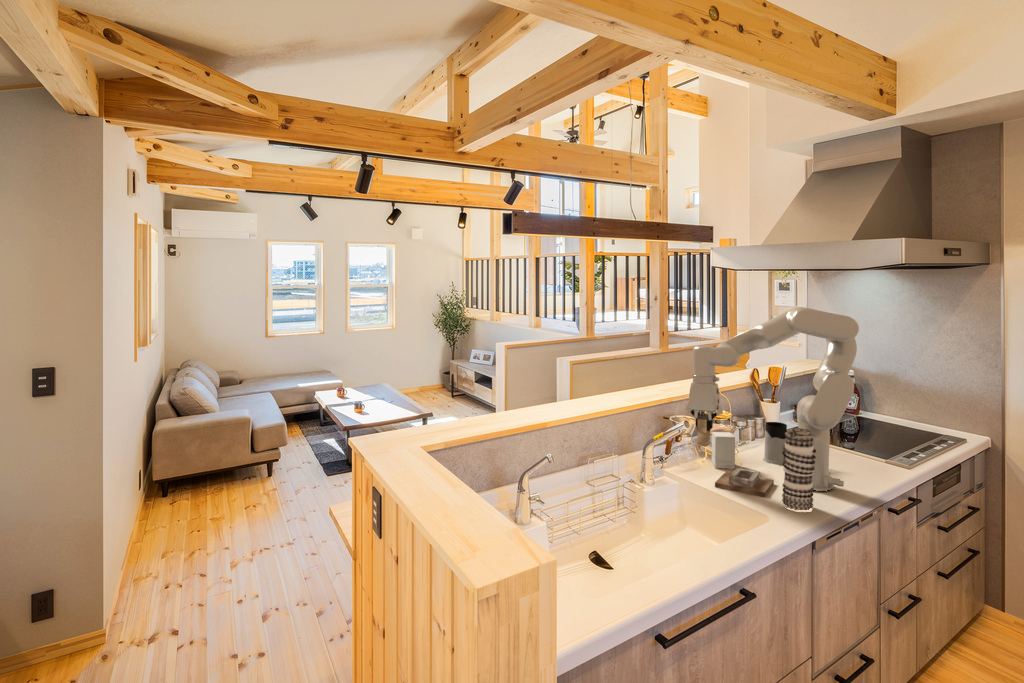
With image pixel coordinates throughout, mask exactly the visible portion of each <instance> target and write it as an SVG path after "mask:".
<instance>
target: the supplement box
mask: <svg viewBox="0 0 1024 683" xmlns="http://www.w3.org/2000/svg"><path fill="white" fill-rule="evenodd" d="M735 455H736V437H735V435H734V434H733V433H732V432H725V431H724V432H723V431H712V432H711V464H712V466H713V467H714V468H715V469H725V468H727V470H730V469H731V470H734V469H735V468H736V467H735V464H736V463H735V462H736V461H735V460H736V459H735V458H736V456H735Z"/></svg>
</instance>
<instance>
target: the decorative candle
mask: <svg viewBox="0 0 1024 683" xmlns="http://www.w3.org/2000/svg"><path fill="white" fill-rule="evenodd" d="M785 434H786V442H785V445H784V446H782V450H783V452H782V454H783V456H784V457H783V461H784V462H783V464H782V466H783V468H782V470H783V472H784V477H783V483H782V495H781V496H782V497H781V498H782V499H781V501H782V505H783V506H784V507H786V508H790V509H794V510H809V509H810V508H813V507H814V498H813V496H814V491H813V490H814V489H813V487H812V485H813V483H812V475H813V474H814V471H813V470H814V469H815V468H814V467H813V466H812V465H813V464H815V461H814V460H812V459H815V458H816V457H815V456H814V455H812V452H813V453H815V452H816V450H815V449H814V446H813V437H815V436H814V435H813V434H812V433H811V432H810V431H809V430H807V429H803V428H798V427H792V428H788V429H787V432H785ZM785 448H786V449H785ZM785 452H786V454H785ZM785 459H786V460H785ZM783 506H782V507H783ZM784 507H783V508H784Z"/></svg>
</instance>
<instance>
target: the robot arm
mask: <svg viewBox="0 0 1024 683" xmlns="http://www.w3.org/2000/svg"><path fill="white" fill-rule="evenodd" d="M859 330H860V327H859V324H858V321H856V319H854V318H853V317H851V316H848V315H844V314H839V313H832V312H827V311H822V310H818V309H814V308H810V307H804V306H797V307H794V308H790V309H789V310H787V311H784V312H782V313H781V314H779V315H777V316H775V317H773V318H771V319H769V320H767V321H764V322H763V323H761V324H759V325H756V326H755V327H752V328H750V329H748V330H746V331H743V332H741V333H739V334H737V335H734V336H732V337H731V338H729V339H727V340H725V341H724V340H723V342H721V343H719V344H718V345H717V346H715V347H714V346H712V345H707V344H706V345H705V344H704V345H696V346H693V349H692V382H691V383H690V388H689V393H688V403H687V405H686V407H685V411H687V412H688V413H690V414H691V415H692V416H693V418H694V419H695V427H696V431H698V415H700V414H701V412H707V414H708V420H707V431H710V432H711V430H712V429H713V426H714V423H713V422H714V421H713V420H714V419H715V418H717V417H718V416H721V415H722V414H723V413H724V410H723V409H722V407H721V398H720V388H719V385H718V383H717V382H720V377H718V376H717V375H716V366H717V367H724V368H732V367H734V366H736V365H737V364H738V363H739V361H740V358H741V356H743V355H746V354H748V353H750V352H753V351H757V350H764V349H768V348H773V347H774V346H776V345H778V344H781V343H782V342H785V341H786V340H788V339H790V338H792V337H795V336H797V335H799V334H804V335H807V336H812V337H817V338H820V339H821V338H822V339H825V341H826V350H825V353H824V355H823V358H822V360H821V362H820V364H819V366H818V368H817V369H816V370H817V371H816V372H815V375H814V376H813V379H812V385H813V387H814V389H815V390H816V391H817V393H816V395H815V394H811V395H806V396H803V397H802V398H801V399H800V400H799V401H798V403H797V406H796V421H797V428H803V429H807V430H809V431H810V432H811V433H812V434H813V435H814V436H815V437H813V446H814V449H815V450H816V452H815V453H813V452H812V455H814V456H815V457H816V458H815V459H812V460H814V461H815V464H813V465H812V466H813V467H814V468H815V469H814V470H813V471H814V474H813V475H812V483H813V485H812V487H813V489H814V490H816V491H815V492H817V491H826V490H831V489H832V490H833V489H834V486H837V487H841V488H843V487H844V484H845V483H844V482H845V481H844V480H841V478H836V477H832V476H831V473H830V470H829V467H830V466H829V465H830V443H831V442H830V440H831V437H830V435H831V434H830V433H831V432H830V430H832V429H834V427H836V425H838V423H839V422H840V421H841V419H842V417H843V415H844V413H845V411H846V409H847V407H848V405H849V403H850V401H851V399H852V397H853V395H854V392H855V382H854V379H853V378H852V377H851V376H850V374H849V373H850V371H851V368H852V366H853V364H854V362H855V359H856V356H857V350H858V348H857V346H858V344H857V340H856V337H857V336H858V333H859ZM832 490H831V491H832ZM826 492H827V491H826Z"/></svg>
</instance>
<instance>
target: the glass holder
mask: <svg viewBox="0 0 1024 683" xmlns="http://www.w3.org/2000/svg"><path fill="white" fill-rule="evenodd" d="M787 431H788V425H787V424H786V423H784V422H778V421H770V422H769V421H768V422H765V429H764V457H763V458H762V459H763V461H764V462H765V461H766V462H765V463H768V464H771V463H772V464H773V465H783V462H784V461H783V457H784V456H783V454H782V452H783V450H782V446H784V445H785V442H786V434H785V432H787ZM785 449H786V448H785ZM785 454H786V452H785ZM785 460H786V459H785Z"/></svg>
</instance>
